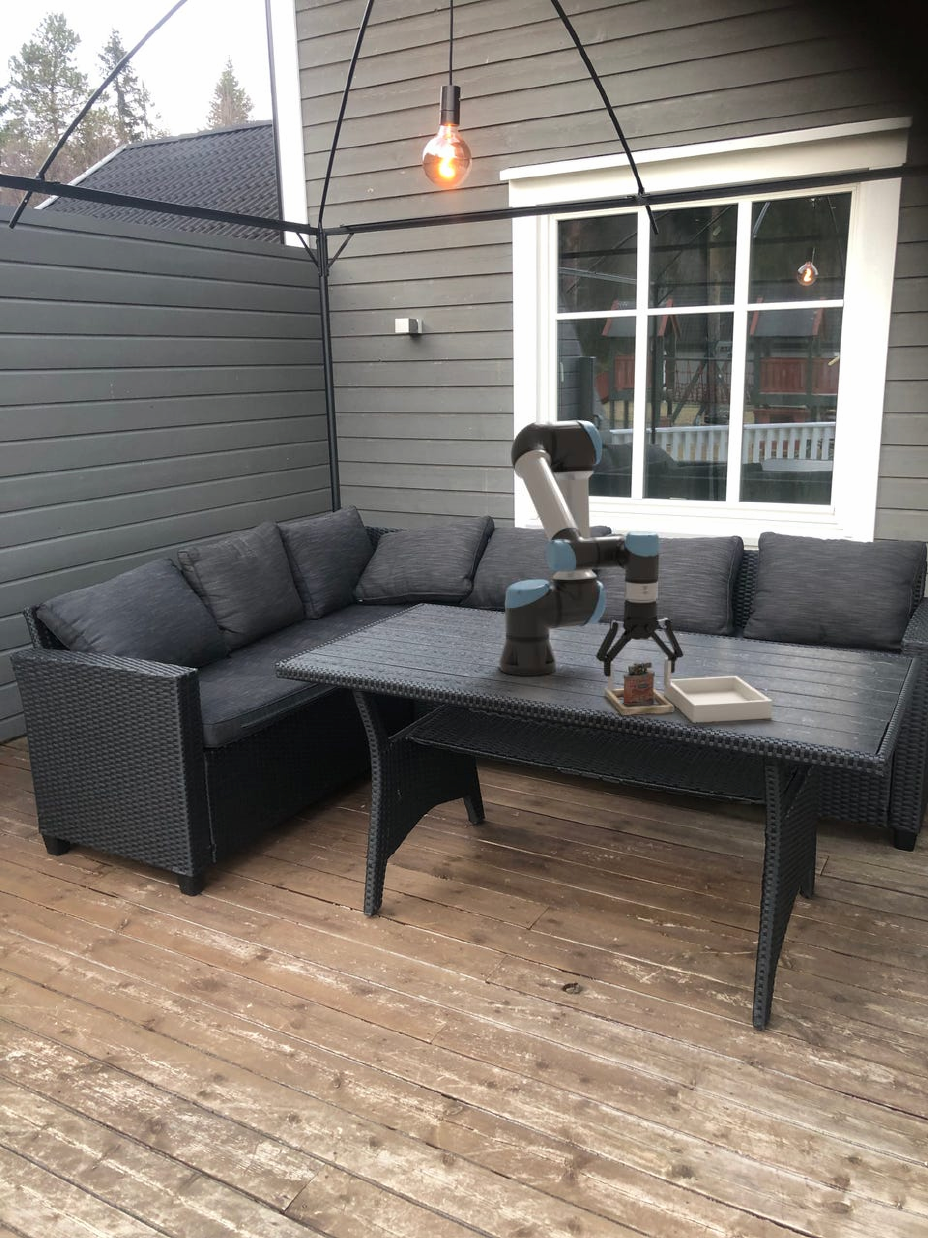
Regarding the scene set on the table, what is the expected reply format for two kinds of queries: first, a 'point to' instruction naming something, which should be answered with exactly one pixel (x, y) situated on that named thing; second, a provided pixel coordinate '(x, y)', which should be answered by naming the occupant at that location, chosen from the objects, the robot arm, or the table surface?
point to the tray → (718, 699)
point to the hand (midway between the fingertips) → (638, 688)
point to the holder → (664, 707)
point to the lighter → (638, 685)
